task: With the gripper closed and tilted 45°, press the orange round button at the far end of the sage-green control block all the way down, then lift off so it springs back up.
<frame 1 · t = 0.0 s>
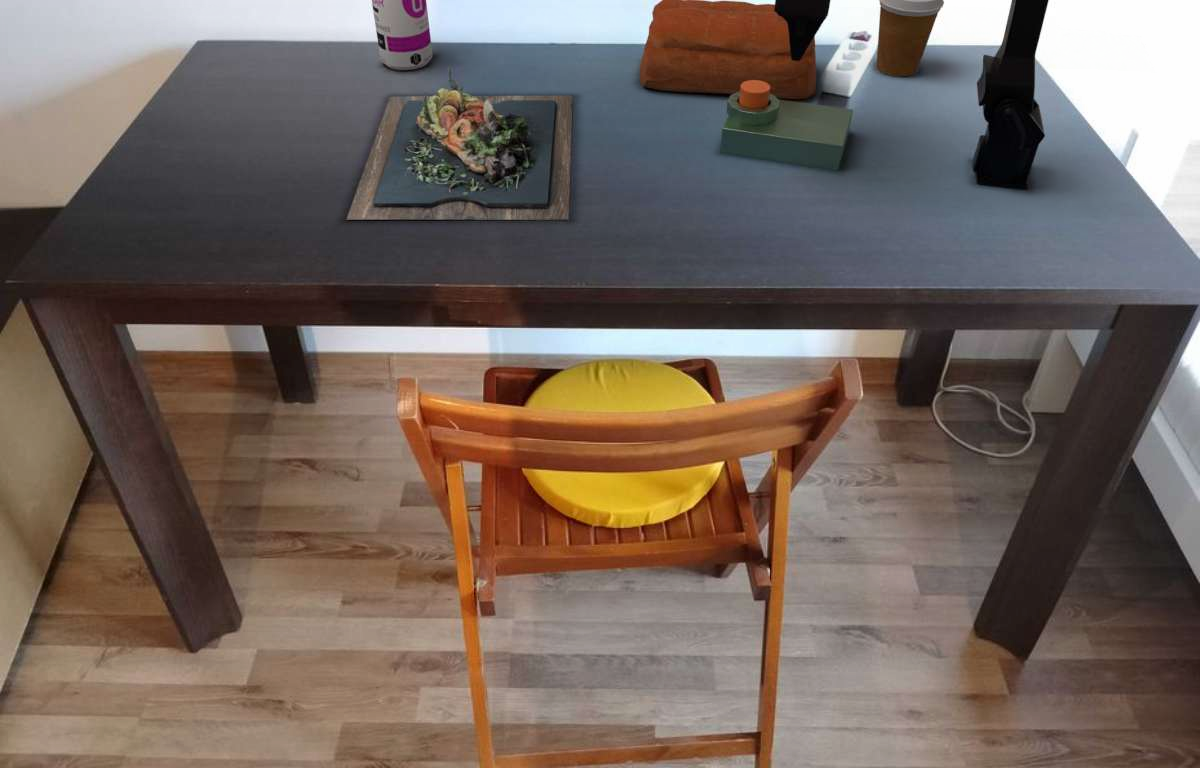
hand: (799, 45, 124), 15 cm above the table, tool pointing down, fingers open, 9 cm apart
bread: (727, 78, 152), on the table
supplement can: (407, 62, 156), on the table
plated dish: (470, 153, 134), on the table
control block: (785, 143, 136), on the table
disposable coffee cup: (896, 69, 154), on the table
start button: (754, 95, 133), point 6 cm above the table, slide at 0.1 cm
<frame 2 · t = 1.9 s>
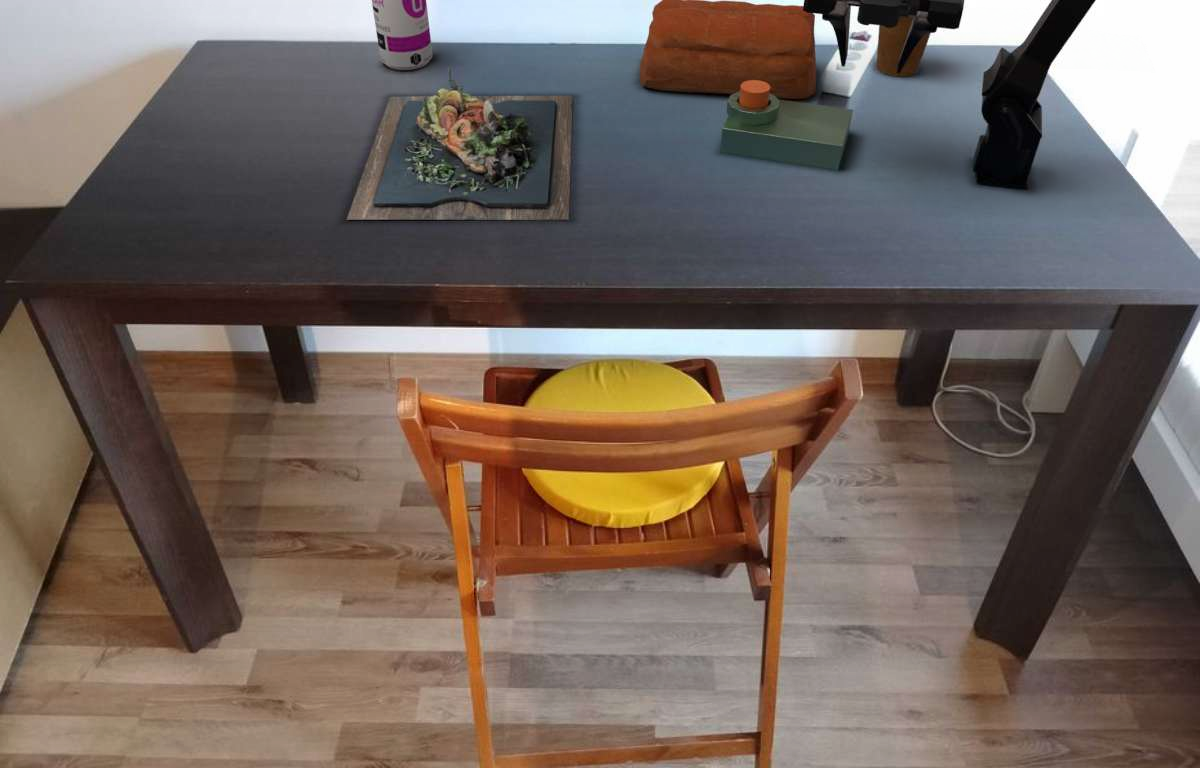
hand: (870, 68, 126), 12 cm above the table, tool pointing down, fingers open, 7 cm apart
nothing on the table moved.
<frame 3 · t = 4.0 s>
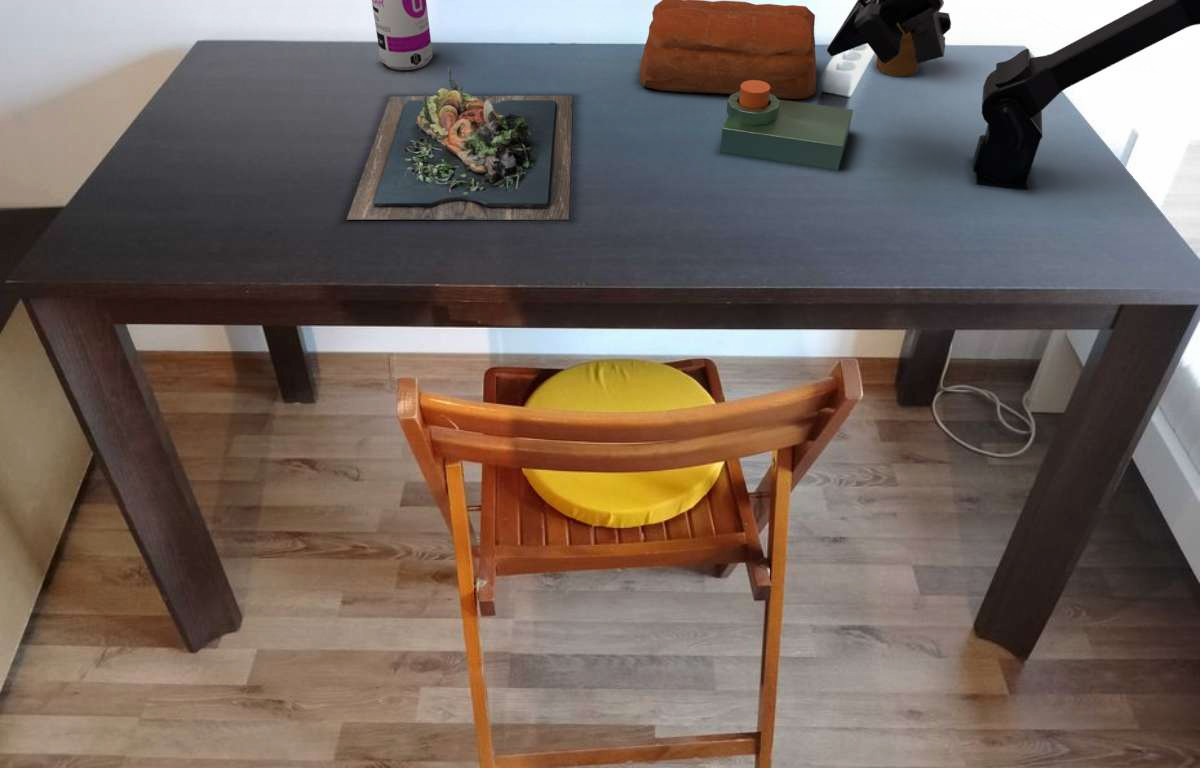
hand: (829, 52, 126), 13 cm above the table, tool tilted 45°, fingers closed
nothing on the table moved.
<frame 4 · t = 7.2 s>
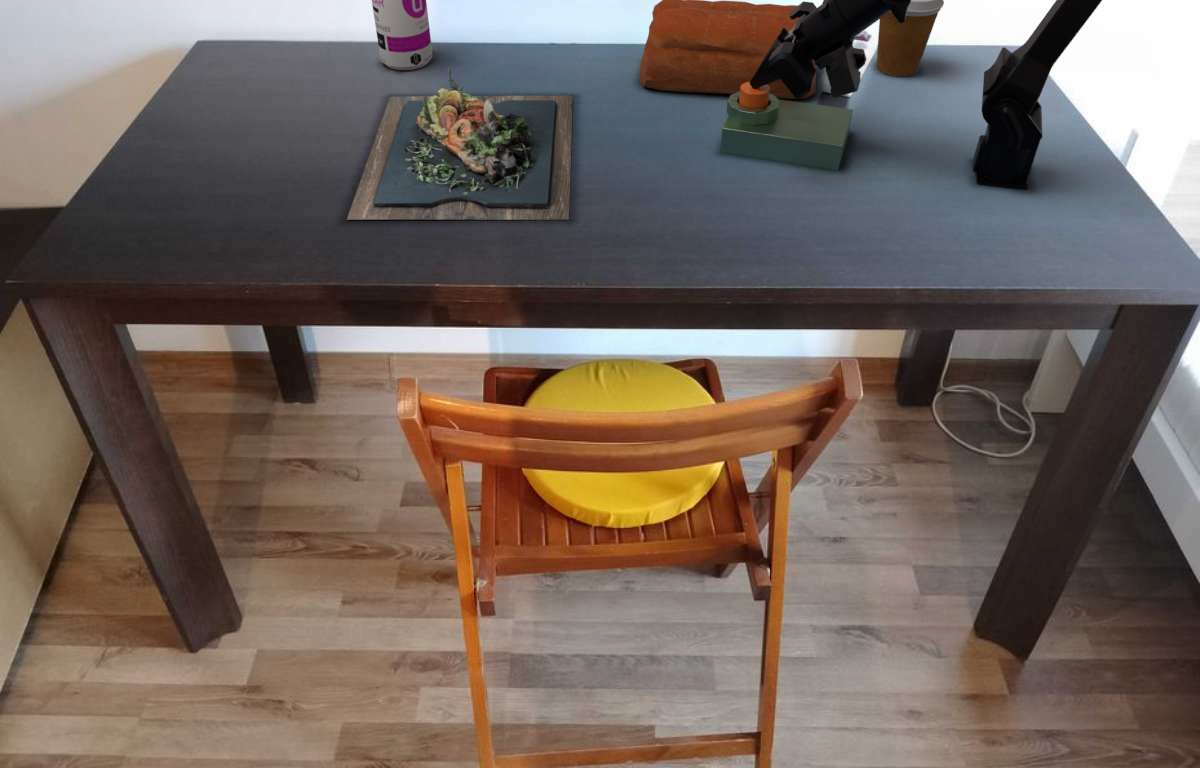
hand: (751, 85, 132), 8 cm above the table, tool tilted 45°, fingers closed, pressing on start button
start button: (754, 96, 133), point 6 cm above the table, slide at -0.1 cm, touching gripper
everything else where it was.
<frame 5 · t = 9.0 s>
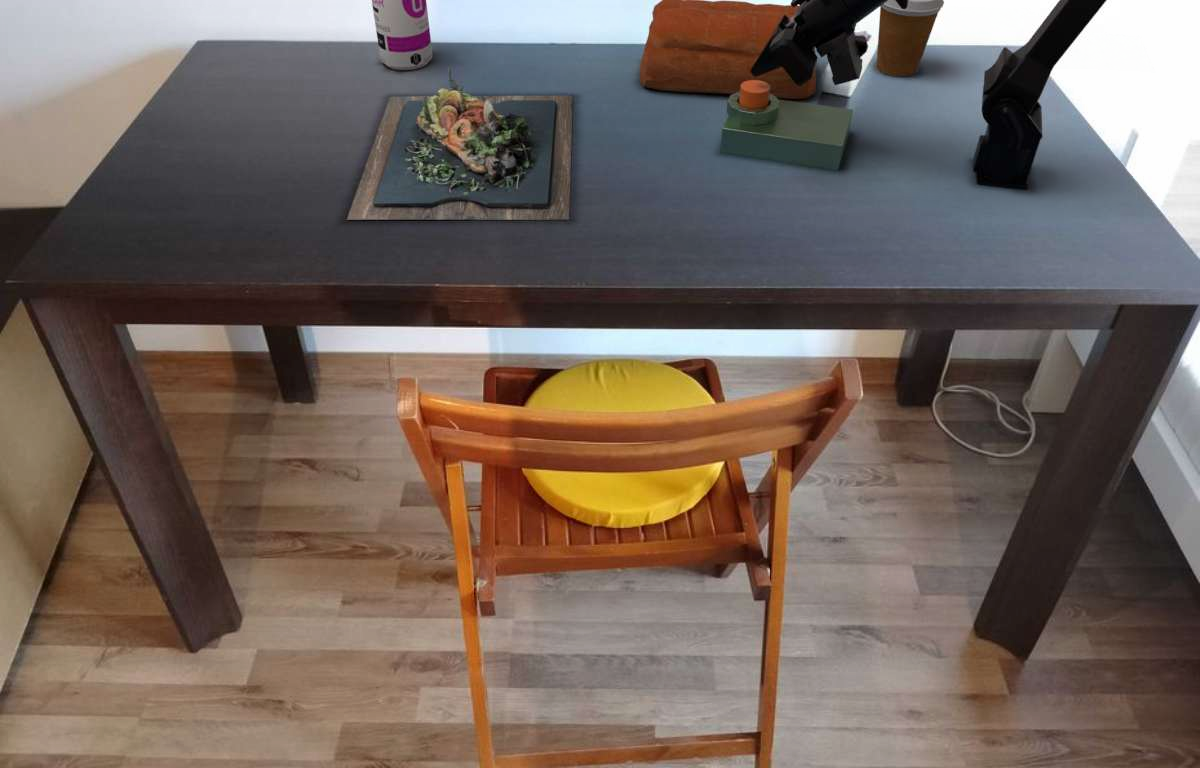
hand: (752, 73, 131), 9 cm above the table, tool tilted 45°, fingers closed
start button: (754, 95, 133), point 6 cm above the table, slide at 0.1 cm
everything else where it was.
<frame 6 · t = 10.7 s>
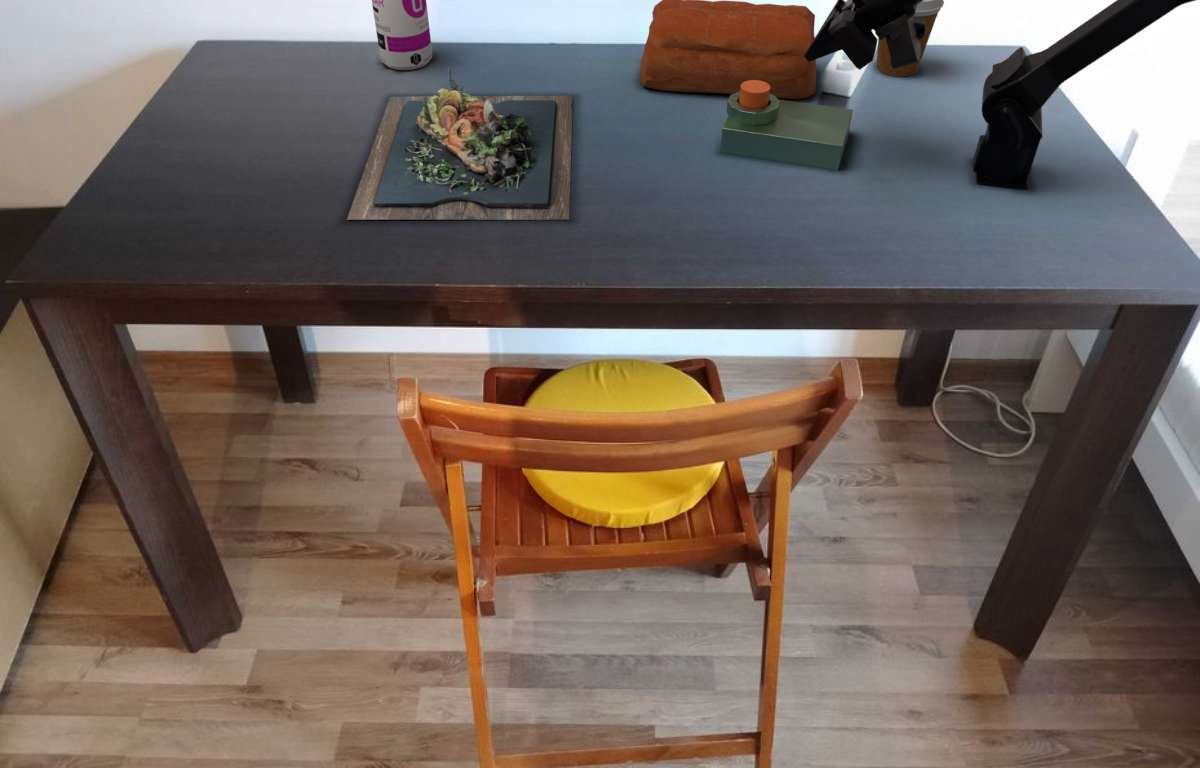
hand: (806, 58, 127), 12 cm above the table, tool tilted 45°, fingers closed
nothing on the table moved.
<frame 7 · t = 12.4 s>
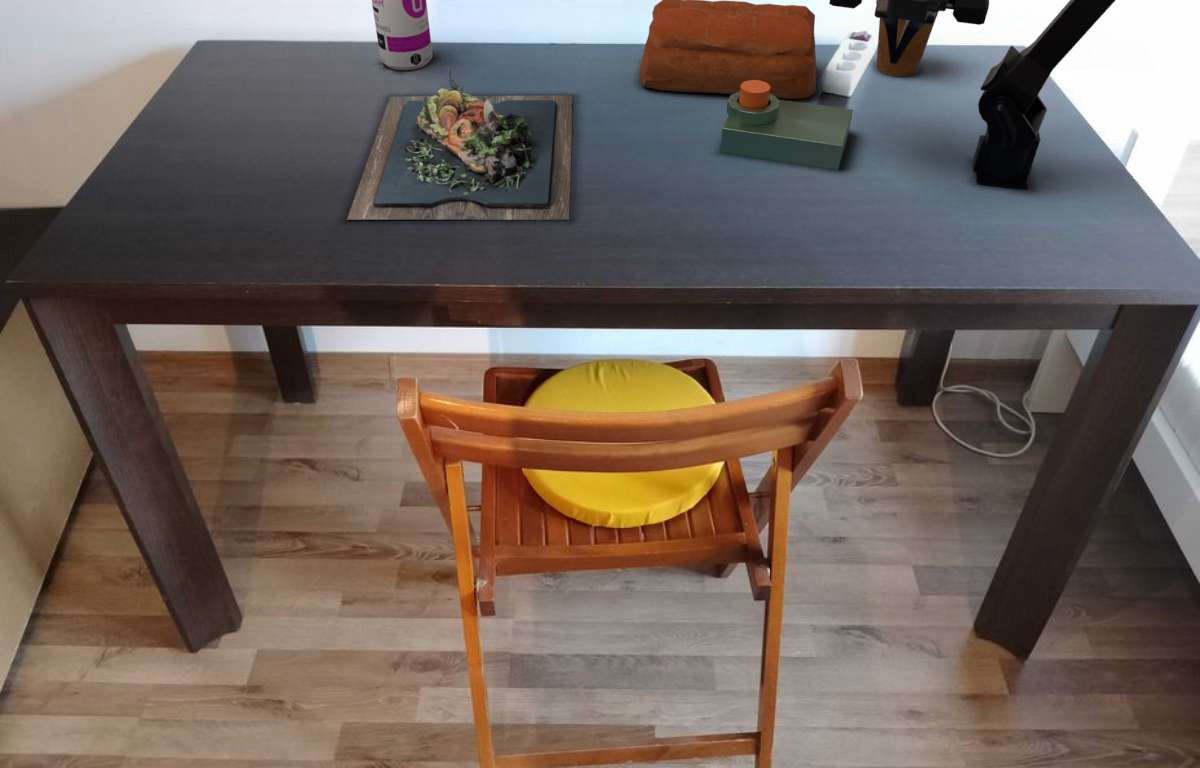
hand: (893, 62, 127), 12 cm above the table, tool pointing down, fingers closed
nothing on the table moved.
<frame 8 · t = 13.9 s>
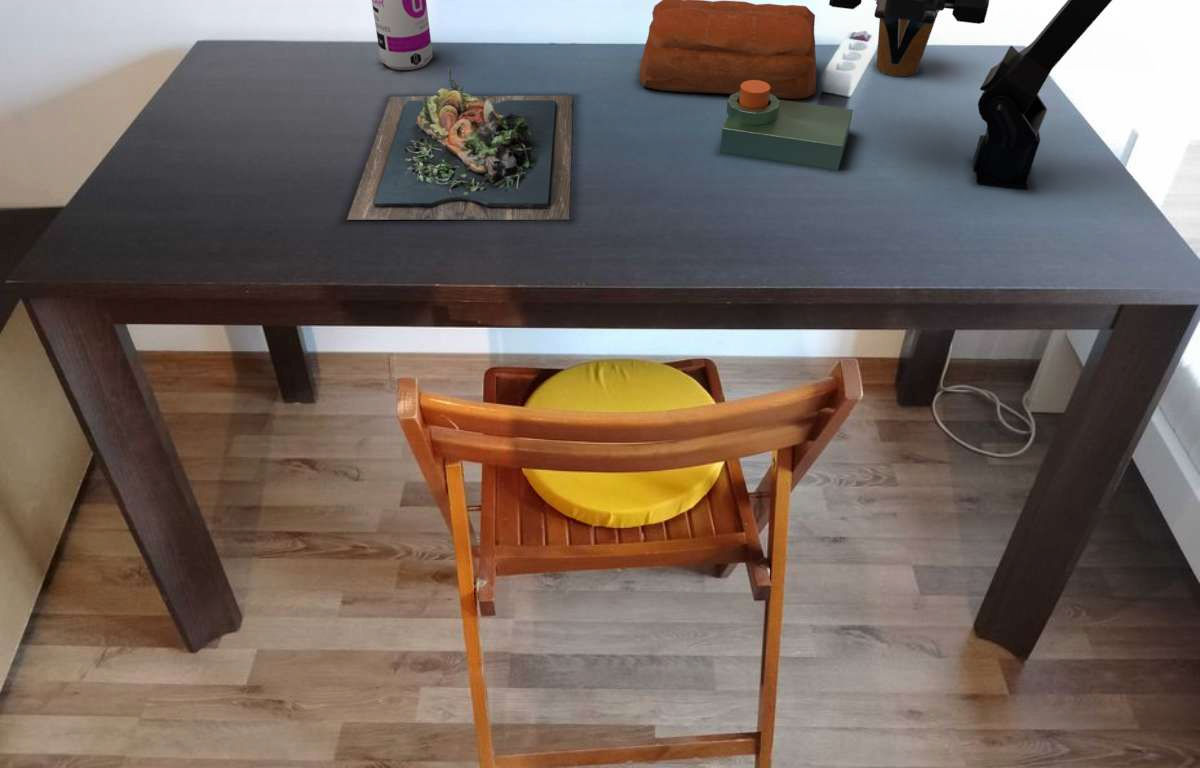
hand: (895, 63, 127), 12 cm above the table, tool pointing down, fingers closed
nothing on the table moved.
at the end: start button pushed in 1.1 cm at the most during the clip, back to where it started at the end; start button slide at 0.1 cm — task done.
